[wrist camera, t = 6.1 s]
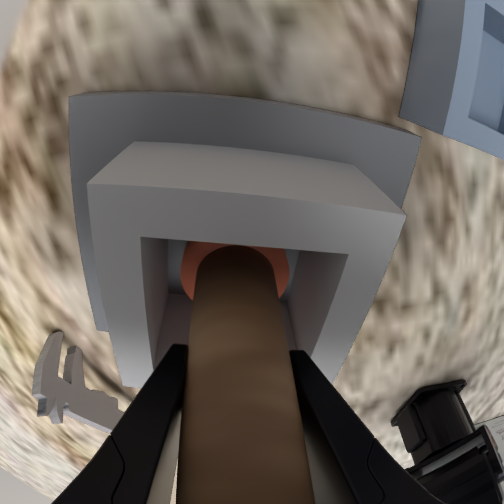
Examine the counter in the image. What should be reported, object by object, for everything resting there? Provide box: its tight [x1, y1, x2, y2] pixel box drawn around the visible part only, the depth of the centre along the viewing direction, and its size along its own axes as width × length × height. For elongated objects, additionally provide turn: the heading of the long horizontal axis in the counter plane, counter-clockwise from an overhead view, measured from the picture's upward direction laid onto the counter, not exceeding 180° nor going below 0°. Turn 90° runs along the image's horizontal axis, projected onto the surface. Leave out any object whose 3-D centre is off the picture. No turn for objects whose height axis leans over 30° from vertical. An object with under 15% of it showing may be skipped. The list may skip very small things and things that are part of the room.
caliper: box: [32, 331, 125, 433], centre depth 21 cm, size 20×1×6 cm, turn 24°
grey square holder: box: [69, 91, 422, 388], centre depth 12 cm, size 14×12×6 cm
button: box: [180, 240, 289, 301], centre depth 13 cm, size 4×4×2 cm
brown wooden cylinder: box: [176, 245, 315, 504], centre depth 7 cm, size 3×3×10 cm
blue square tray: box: [399, 0, 504, 160], centre depth 9 cm, size 7×7×4 cm
